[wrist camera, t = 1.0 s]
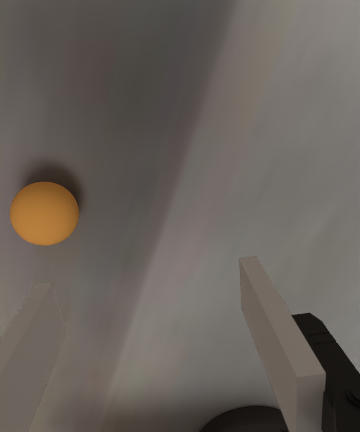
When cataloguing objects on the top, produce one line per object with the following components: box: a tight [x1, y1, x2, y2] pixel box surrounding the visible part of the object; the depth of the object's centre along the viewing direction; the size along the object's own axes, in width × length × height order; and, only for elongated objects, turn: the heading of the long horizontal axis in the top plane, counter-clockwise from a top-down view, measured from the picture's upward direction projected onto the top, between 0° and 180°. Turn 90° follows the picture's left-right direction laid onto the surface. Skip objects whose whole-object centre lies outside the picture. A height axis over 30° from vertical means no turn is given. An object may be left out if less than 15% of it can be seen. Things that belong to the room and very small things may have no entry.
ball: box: [10, 182, 79, 245], centre depth 28 cm, size 6×6×6 cm
